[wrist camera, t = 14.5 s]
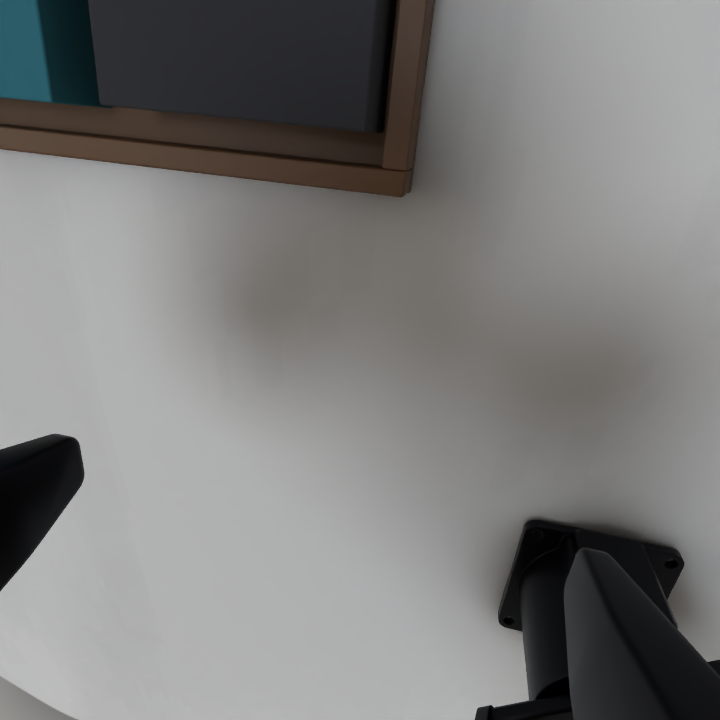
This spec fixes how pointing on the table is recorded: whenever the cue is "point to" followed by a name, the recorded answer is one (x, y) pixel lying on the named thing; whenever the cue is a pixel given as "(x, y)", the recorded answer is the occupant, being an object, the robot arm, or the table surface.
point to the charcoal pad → (248, 59)
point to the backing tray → (246, 132)
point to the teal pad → (48, 52)
